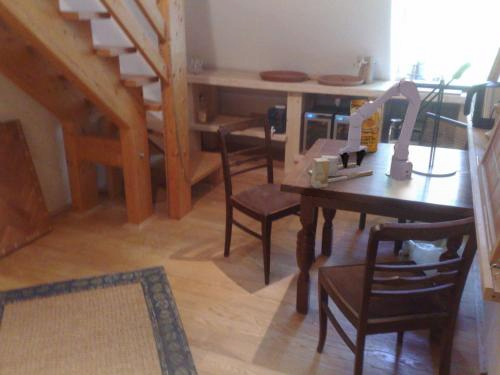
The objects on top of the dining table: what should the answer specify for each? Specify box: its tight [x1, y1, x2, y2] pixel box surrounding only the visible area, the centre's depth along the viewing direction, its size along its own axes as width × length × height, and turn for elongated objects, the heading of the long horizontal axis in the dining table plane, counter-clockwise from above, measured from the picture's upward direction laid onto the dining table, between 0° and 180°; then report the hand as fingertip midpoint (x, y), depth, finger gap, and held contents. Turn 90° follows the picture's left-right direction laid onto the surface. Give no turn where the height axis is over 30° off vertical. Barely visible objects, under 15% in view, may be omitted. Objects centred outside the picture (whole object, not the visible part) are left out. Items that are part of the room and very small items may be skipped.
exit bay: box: [308, 169, 348, 183], centre depth 204 cm, size 14×12×1 cm
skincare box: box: [310, 157, 330, 189], centre depth 190 cm, size 6×4×12 cm
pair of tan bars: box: [338, 162, 374, 179], centre depth 209 cm, size 13×14×2 cm
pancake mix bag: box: [349, 98, 383, 154], centre depth 235 cm, size 7×19×28 cm, turn 99°
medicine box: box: [320, 155, 339, 178], centre depth 204 cm, size 8×4×9 cm, turn 74°
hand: (351, 166), depth 208 cm, fingers open, 7 cm apart
